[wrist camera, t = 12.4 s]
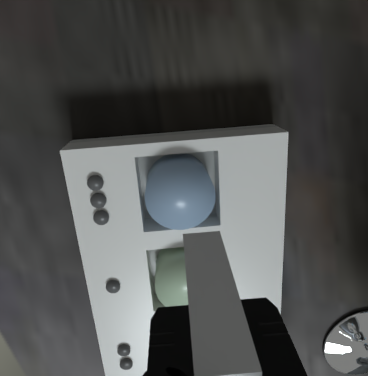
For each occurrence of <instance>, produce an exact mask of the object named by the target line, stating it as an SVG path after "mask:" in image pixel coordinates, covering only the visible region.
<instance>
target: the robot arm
mask: <svg viewBox="0 0 368 376" xmlns="http://www.w3.org/2000/svg"><path fill="white" fill-rule="evenodd" d="M183 242H184V255H185V268H186V281H187V294H188V305H181V306H169V307H158V308H157V310H156V311H155V313H154V315H153V316H152V318H151V321H150V336H149V349H148V363H147V371H146V372H145V373H144V374H143V375H142V376H307V374H306V372H305V369H304V367H303V365H302V363H301V360H300V358H299V356H298V354H297V351H296V349H295V347H294V344H293V342H292V340H291V338H290V335H289V334H288V331H287V329H286V326H285V324H284V323H283V319H282V317H281V315H280V313H279V310H278V308H277V307H276V306H275V305H274V304H273V303H272V302H271V301H269V300H268V299H267V298H266V297H265V298H253V299H241V300H240V296H239V293H238V290H237V287H236V283H235V280H234V277H233V273H232V270H231V267H230V263H229V260H228V257H227V253H226V250H225V247H224V243H223V240H222V237H221V233H220V231H213V232H200V233H188V234H183Z"/></svg>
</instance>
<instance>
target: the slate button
mask: <svg viewBox="0 0 368 376" xmlns="http://www.w3.org/2000/svg"><path fill="white" fill-rule="evenodd" d="M215 196H216V195H215V189H214V185H213V183H212V181H211V178H210V176H209V174H208V172H207V169H206V168H205V166H204V165H203V163H202V162H201V161H200V160H199V159H197V158H196V157H194V156H192V155H190V154H186V153H181V154H169V155H165V156H163V157H161V158H160V159H158V160H157V161H156V162H155V163H154V164H153V165H152V167H151V168H150V170H149V173H148V176H147V181H146V190H145V204H146V208H147V210H148V212H149V214H150V216H151V217H152V218H153V219H154V220H155V221H156V222H157V223H159V224H160V225H162V226H164V227H166V228H169V229H174V230H184V229H189V228H193V227H195V226H197V225H199V224H200V223H202V222H203V221H204V220H205V219H206V218H207V217H208V216H209V215H210V213H211V212H212V210H213V207H214V204H215Z"/></svg>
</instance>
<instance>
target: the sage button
mask: <svg viewBox="0 0 368 376" xmlns="http://www.w3.org/2000/svg"><path fill="white" fill-rule="evenodd" d="M155 291H156V294H157V297H158V299H159V300H160V302H161V303H162V304H163V305H165V306H166V307H169V306H181V305H188V294H187V281H186V268H185V255H184V247H178V248H167V249H161V250H160V252H159V254H158V256H157V259H156V273H155Z"/></svg>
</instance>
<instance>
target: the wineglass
mask: <svg viewBox="0 0 368 376" xmlns="http://www.w3.org/2000/svg"><path fill="white" fill-rule="evenodd" d="M323 353H324V357H325V359H326V362H327V363H328V364H329V365H330V366H331V367H332V368H333V369H335V370H336V371H339V372H341V373H345V374H355V375H356V374H364V373H368V310H366V311H361V312H357V313H354V314H352V315H350V316H347V317H346V318H344V319H342V320H341V321H340V322H338V323H337V324H336V325H335V326H334V327H333V328H332V329H331V330H330V332H329V333H328V335H327V337H326V339H325V342H324V347H323Z"/></svg>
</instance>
